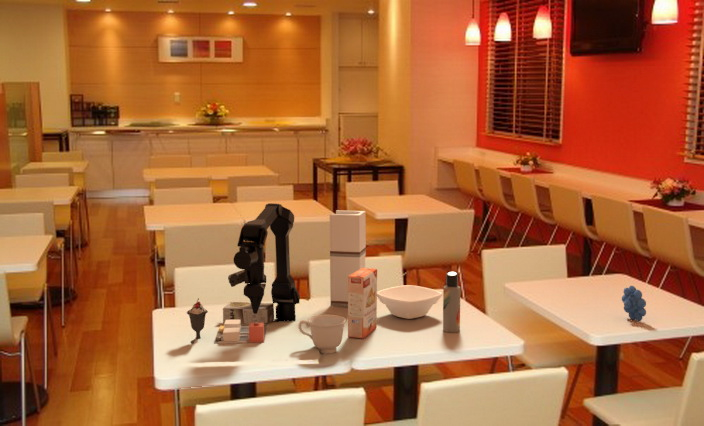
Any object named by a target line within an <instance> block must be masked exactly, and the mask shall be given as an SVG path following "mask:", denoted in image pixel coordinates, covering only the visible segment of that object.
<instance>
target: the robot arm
mask: <svg viewBox="0 0 704 426" xmlns="http://www.w3.org/2000/svg"><path fill="white" fill-rule="evenodd" d="M294 222H295V215H294V213H293V212H292V210H291V209H289V208H286V207H285V206H283V205H282V204H280V203H274V202H273V203H271V202H270V203H266V204H265V205H264V208H263V209H262V211H261V212H260V213H259V214H258V216H257V217H256V218H255V219H253V220H249V221H246V222H245V223H244V224H243V226H242V227H241V228H240V232H239V236H238V237H239V238H238V242H237V247H239V250H238V251H237V252H236V253H235V254H234V257H233V264H234V266H236V268H237V269H239V271H237V272H233V273H231V274H229V275H228V276H227V279H228V284H230V286H231V288H232V287H236V286H237V285H239V284H243V283H244V286H243V296H244V297H247V298H248V299H249V303H251V306H252V310H253V313H254V314H257V312H258V309H259V307H260V304H261V303H262V300H263V298H264V296H265V289H266V283H267V275H266V274H265V258H264V257H265V256H264V251H265V250H264V247H265V246H266V245H265V244H266V240H267V237H268V233H269V232H268V229H269V228H270V230H271V232H272V234H273V236H274V239H275V240H274V241H275V264H276V265H275V267H276V269H275V270H276V277H275V278H274V280H273V282H272V283H271V291H270V293H271V294H270V295H271V300H272V301H271V302H272V303H274V304H276V306H275V319H276V322H296V319H297V317H296V316H297V315H296V305H297V304H300V299H301V298H300V297H301V295H300V294H299V291H298V289H297V287H296V282H295V279H294V278H293V277H292V275H291V264H290V263H291V261H290V233H291V231H292V229H293V227H294Z"/></svg>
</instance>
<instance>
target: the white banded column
mask: <svg viewBox="0 0 704 426" xmlns="http://www.w3.org/2000/svg"><path fill="white" fill-rule="evenodd" d="M366 213H367V212H366V210H342V209H340V210H339V209H337V210H335V214H334V213H329V259H330V260H329V271H330V272H329V276H330V277H329V278H330V279H329V281H330V282H329V283H330V285H329V286H330V287H329V289H330V290H329V291H330V307H341V306H345V307H344V308H346V307H347V308H348V276H349V275H351V274H353V273H354V272H356V271H358V270H359V269H361V268H366V255H367V253H366V252H367V250H366V249H367V248H366V247H367V244H366V243H367V242H366V241H367V238H366V237H367V235H366V234H367V230H366V229H367V227H366V226H367V225H366V223H367V222H366V221H367V219H366V217H367V216H366V215H367V214H366Z"/></svg>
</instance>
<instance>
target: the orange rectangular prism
mask: <svg viewBox="0 0 704 426" xmlns="http://www.w3.org/2000/svg"><path fill="white" fill-rule="evenodd" d="M248 325H249V342H264V343H265V340H264V325H265V324H264V323H258V322H255V323H250V324H248Z"/></svg>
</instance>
